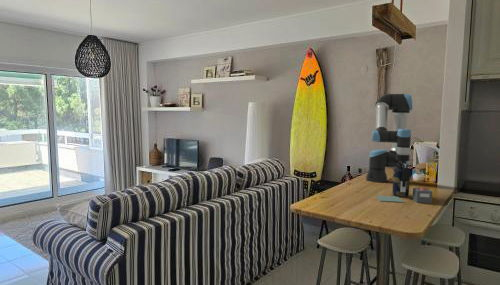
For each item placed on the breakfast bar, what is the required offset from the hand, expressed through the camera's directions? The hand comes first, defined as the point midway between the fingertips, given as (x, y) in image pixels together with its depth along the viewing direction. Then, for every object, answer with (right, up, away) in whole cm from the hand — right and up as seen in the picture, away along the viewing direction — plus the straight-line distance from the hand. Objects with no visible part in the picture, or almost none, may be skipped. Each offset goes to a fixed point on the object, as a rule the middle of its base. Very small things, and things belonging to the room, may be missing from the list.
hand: (400, 189), depth 210 cm
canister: (0, -4, 0) cm, 4 cm away
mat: (-11, -4, -9) cm, 15 cm away
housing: (+7, -5, -12) cm, 15 cm away
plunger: (+7, -4, -12) cm, 14 cm away
